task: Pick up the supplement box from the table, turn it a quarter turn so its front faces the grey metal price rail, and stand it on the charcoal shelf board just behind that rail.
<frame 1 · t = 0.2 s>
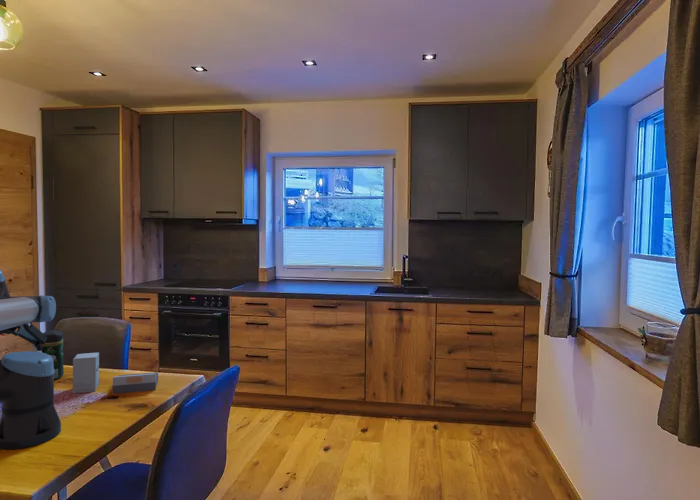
hand: (15, 356, 141), 16 cm above the table, tool tilted 35°, fingers open, 13 cm apart
shelf: (136, 386, 159), on the table
coffee jar: (51, 378, 167), on the table
supplement box: (86, 389, 155), on the table
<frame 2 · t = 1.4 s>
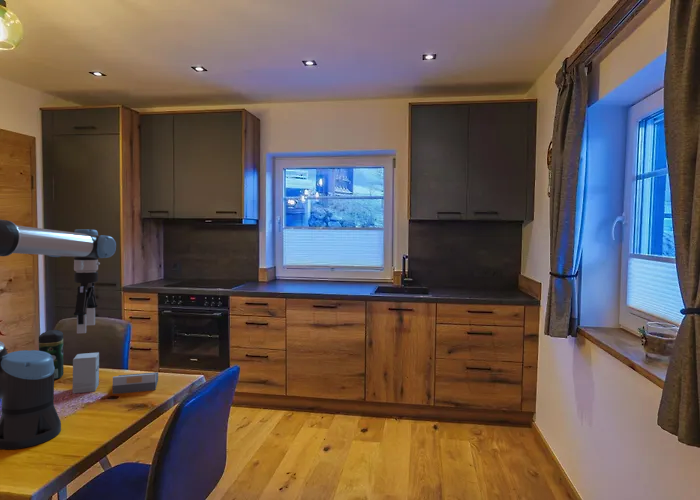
hand: (86, 329, 155), 22 cm above the table, tool pointing down, fingers open, 13 cm apart
nothing on the table moved.
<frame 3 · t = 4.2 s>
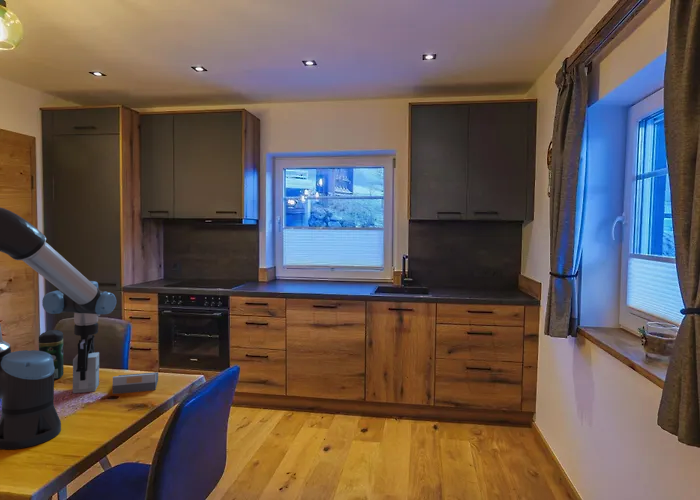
hand: (86, 384, 155), 2 cm above the table, tool pointing down, fingers closed on supplement box, 7 cm apart
supplement box: (86, 389, 156), on the table, touching gripper
everything else where it was.
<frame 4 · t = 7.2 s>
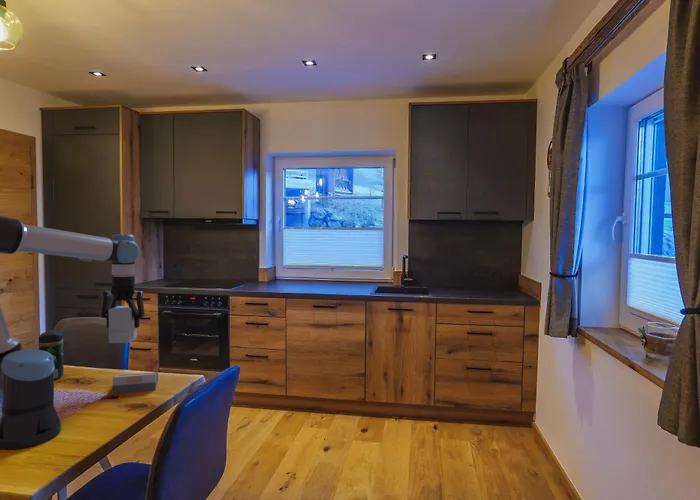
hand: (123, 336, 158), 19 cm above the table, tool pointing down, fingers closed on supplement box, 7 cm apart
supplement box: (122, 341, 158), point 17 cm above the table, touching gripper
everything else where it was.
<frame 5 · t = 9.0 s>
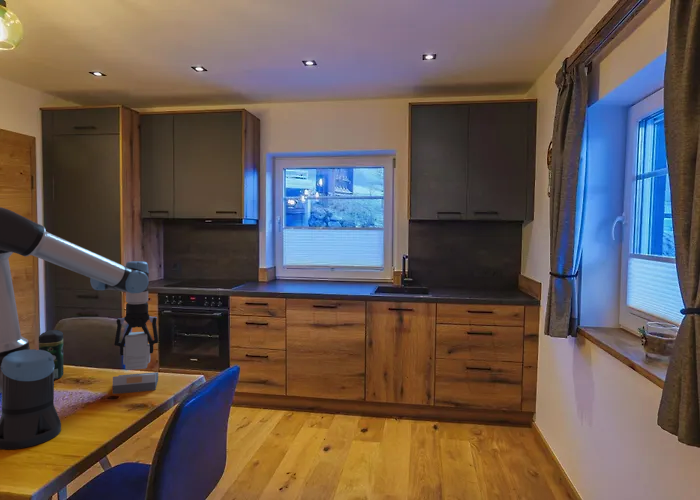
hand: (136, 362, 159), 9 cm above the table, tool pointing down, fingers closed on supplement box, 7 cm apart
supplement box: (136, 367, 159), point 7 cm above the table, touching gripper
everything else where it was.
when the fingers open (6 cm above the table, at t = 10.3 s): supplement box drops 1 cm, resting on shelf.
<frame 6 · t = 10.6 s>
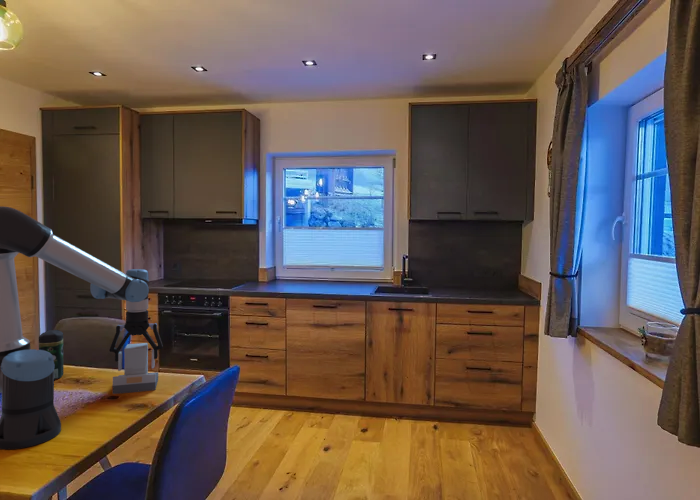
hand: (136, 368, 159), 7 cm above the table, tool pointing down, fingers open, 10 cm apart
supplement box: (136, 379, 159), point 3 cm above the table, touching shelf
everything else where it was.
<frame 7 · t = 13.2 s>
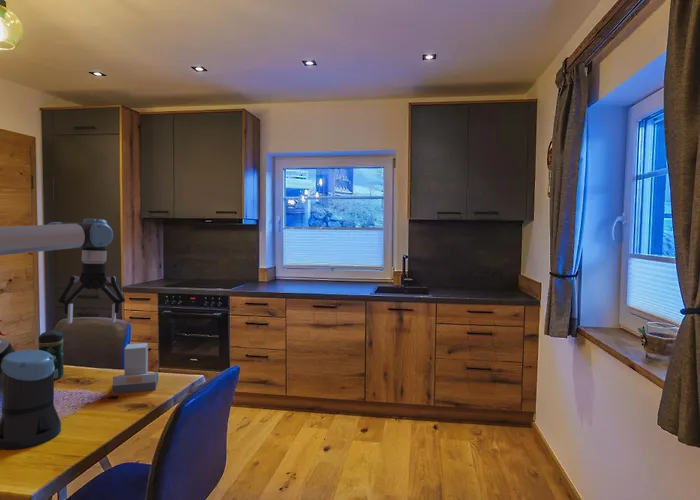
hand: (92, 322, 149), 26 cm above the table, tool pointing down, fingers open, 13 cm apart
nothing on the table moved.
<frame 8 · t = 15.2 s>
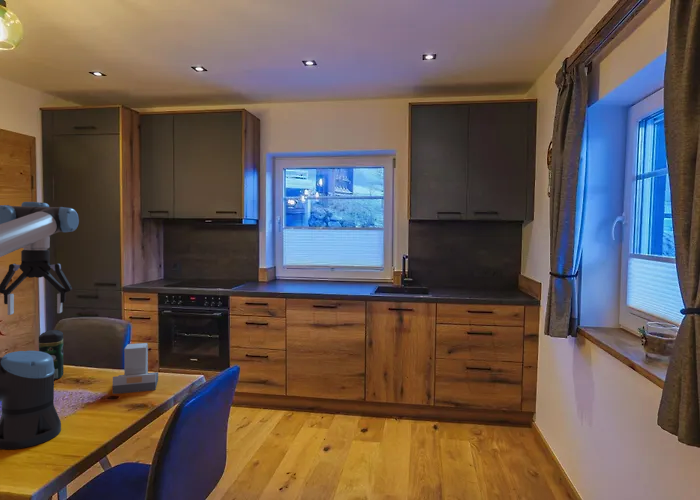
hand: (35, 313, 139), 31 cm above the table, tool pointing down, fingers open, 13 cm apart
nothing on the table moved.
at the end: supplement box 0.1 cm off-centre on the shelf, point 2.8 cm above the shelf's base; supplement box tilted 0°; supplement box touching shelf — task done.
